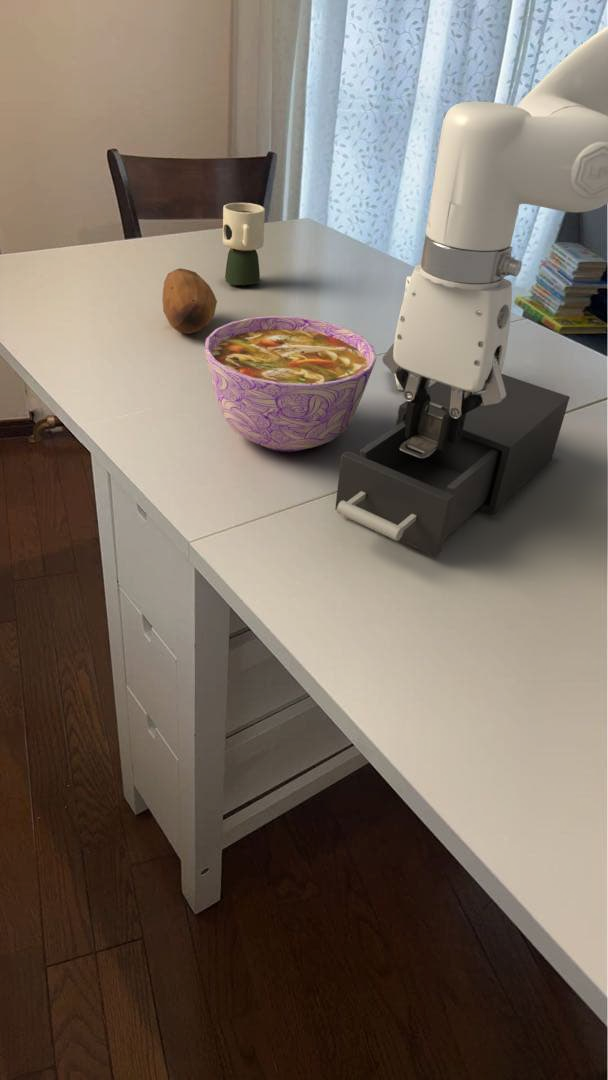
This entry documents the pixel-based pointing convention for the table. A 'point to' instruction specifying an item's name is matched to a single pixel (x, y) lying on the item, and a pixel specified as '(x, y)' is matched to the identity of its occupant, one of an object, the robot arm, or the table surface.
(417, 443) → the strap clip
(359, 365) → the bowl of food
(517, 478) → the small drawer cabinet
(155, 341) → the table surface
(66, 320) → the table surface
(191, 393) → the table surface
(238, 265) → the character mug
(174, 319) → the potato
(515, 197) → the robot arm
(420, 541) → the open drawer with handle
